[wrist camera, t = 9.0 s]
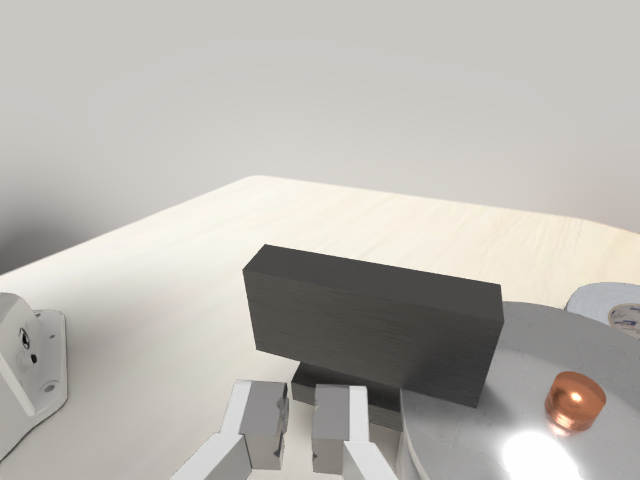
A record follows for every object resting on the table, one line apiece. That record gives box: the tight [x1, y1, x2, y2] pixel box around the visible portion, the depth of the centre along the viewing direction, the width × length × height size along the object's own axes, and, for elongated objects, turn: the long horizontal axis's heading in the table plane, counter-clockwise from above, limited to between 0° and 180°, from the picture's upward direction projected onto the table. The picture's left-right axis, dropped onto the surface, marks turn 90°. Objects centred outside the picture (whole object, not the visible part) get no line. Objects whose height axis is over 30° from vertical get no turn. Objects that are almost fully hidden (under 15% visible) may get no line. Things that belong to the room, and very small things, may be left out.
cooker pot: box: [291, 362, 422, 480], centre depth 25 cm, size 31×18×10 cm, turn 71°
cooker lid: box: [243, 244, 640, 480], centre depth 21 cm, size 29×19×8 cm, turn 71°
